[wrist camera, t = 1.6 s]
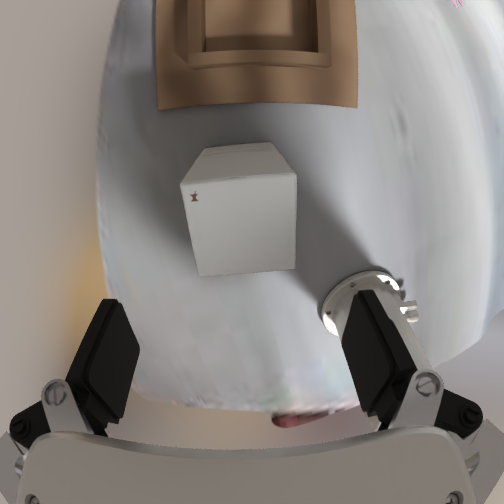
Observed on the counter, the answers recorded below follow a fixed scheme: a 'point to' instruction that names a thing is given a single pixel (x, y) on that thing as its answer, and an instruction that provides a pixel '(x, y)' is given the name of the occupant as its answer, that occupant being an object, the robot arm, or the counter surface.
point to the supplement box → (241, 210)
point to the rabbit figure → (461, 1)
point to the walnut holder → (256, 52)
